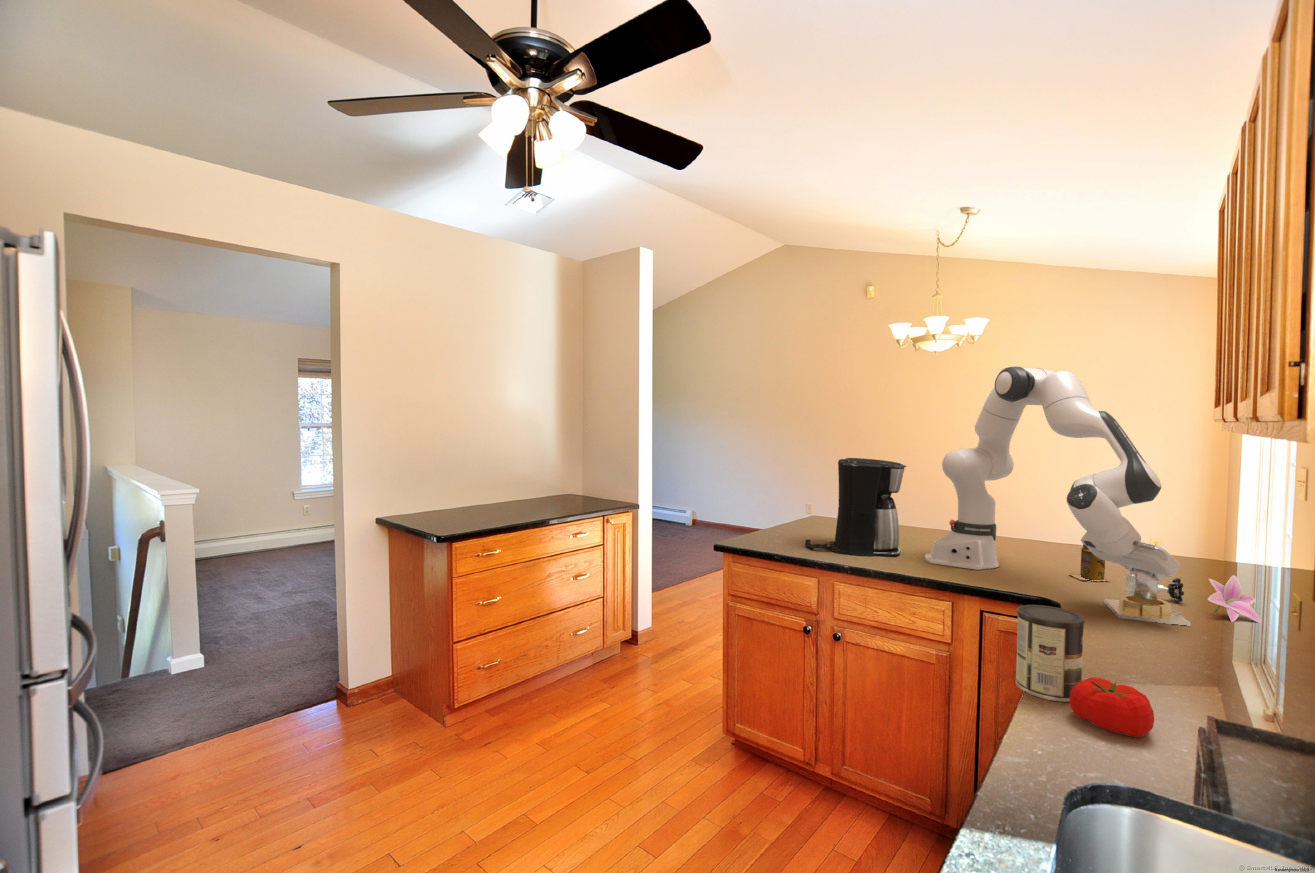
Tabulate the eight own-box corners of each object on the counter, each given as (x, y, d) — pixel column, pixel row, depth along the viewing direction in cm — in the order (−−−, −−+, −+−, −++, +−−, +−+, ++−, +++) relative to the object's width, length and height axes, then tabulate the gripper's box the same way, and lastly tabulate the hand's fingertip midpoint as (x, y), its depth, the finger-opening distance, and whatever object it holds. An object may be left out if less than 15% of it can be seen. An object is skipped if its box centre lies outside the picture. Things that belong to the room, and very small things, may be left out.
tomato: (1079, 704, 105) (1080, 667, 105) (1160, 729, 97) (1161, 689, 96) (1061, 722, 98) (1062, 683, 98) (1146, 751, 90) (1148, 708, 90)
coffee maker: (914, 556, 214) (917, 461, 212) (830, 560, 207) (832, 462, 206) (878, 542, 236) (880, 456, 235) (801, 545, 229) (803, 457, 228)
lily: (1195, 621, 152) (1219, 593, 147) (1184, 591, 161) (1206, 565, 156) (1253, 642, 148) (1279, 614, 143) (1238, 611, 157) (1262, 584, 152)
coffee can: (1064, 679, 115) (1067, 605, 114) (1093, 705, 104) (1096, 624, 104) (1005, 674, 116) (1008, 602, 116) (1028, 699, 106) (1031, 620, 106)
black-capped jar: (1135, 598, 152) (1137, 561, 152) (1129, 592, 157) (1131, 556, 156) (1161, 601, 150) (1163, 563, 150) (1154, 595, 155) (1156, 559, 154)
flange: (1118, 617, 150) (1118, 604, 150) (1103, 602, 163) (1104, 589, 163) (1190, 626, 144) (1190, 612, 144) (1169, 609, 157) (1169, 596, 157)
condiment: (1111, 582, 183) (1112, 543, 182) (1082, 581, 183) (1083, 542, 183) (1095, 576, 190) (1096, 538, 190) (1067, 575, 191) (1068, 537, 190)
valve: (1127, 599, 166) (1183, 606, 161) (1128, 575, 165) (1184, 581, 160) (1121, 593, 172) (1174, 599, 167) (1122, 570, 171) (1176, 575, 166)
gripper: (1167, 537, 141) (1199, 577, 143) (1089, 522, 161) (1118, 557, 163) (1150, 557, 141) (1183, 596, 143) (1074, 539, 161) (1104, 574, 163)
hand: (1148, 575), depth 153 cm, fingers closed on black-capped jar, 5 cm apart
